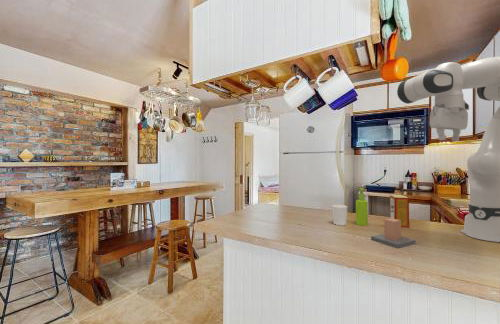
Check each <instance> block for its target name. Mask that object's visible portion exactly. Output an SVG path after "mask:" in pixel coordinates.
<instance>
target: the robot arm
mask: <svg viewBox="0 0 500 324" xmlns="http://www.w3.org/2000/svg"><path fill="white" fill-rule="evenodd" d="M469 89H476V94H477V96H478V98H479V99H481V100H483V101H489V102H490V101H491V102H492V101H494V102H495V101H497V102H500V56H491V57H484V58H481V59H477V60H475V61H472V62H470V63H467V64H465V65H463V66H462V65H461V64H460V63H459V62H454V61H449V62H443V63H440V64H438V65H437V66H436V67H434V68H433V69H431V70H427V71H425V72H423V73H420V74H418V75H415V76H414V77H412V78H409V79H405V80H403V81H402V82H400V83H399V84H398V86H397V91H396V94H397V97H398V99H399V100H400V101H401V102H403V103H404V104H412V103H414V102H415V103H416V102H417V101H419V100H420V101H421V100H423V99H427V98H430V97H434V105H433V106H432V109H431V111H430V112H429V113H430V114H429V127H430V128H431V129H436V134H437V136H438V141H446V139H447V135H445V130H452V136H451V141H452V142H456V141H457V142H458V141H459V140H460V134H461V131H463V130H466V129H467V127H468V123H469V121H468V120H469V112H468V111H469V110H470V105H469V104H468V103H467V102H466V101H465V99H464V93H463V90H469ZM466 167H467V176H468V177H467V178H468V184H469V204H468V207H467V209H468V214H466V215H465V216H464V226H463V227H464V228H461V229H460V232H461V233H463V234H465V235H466V236H468V237H470V238H473V239H477V240H481V241H486V242H487V241H488V242H496V243H497V242H498V243H500V106H499V107H498V108H497V110H496V111H495V112H494V114H493V116H492V118H491V120H490V122H489V124H488V126H487V127H486V129H485V131H484V133H483V134H482V139H481V141H480V144H479V147H478V150H477V151H476V152H474V153H472V154H471V155H470V156H469V157H468V158H467V160H466Z"/></svg>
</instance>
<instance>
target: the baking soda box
mask: <svg viewBox="0 0 500 324" xmlns="http://www.w3.org/2000/svg"><path fill="white" fill-rule="evenodd" d="M389 218H392V219H397V220H401V229H402V228H404V229H408V228H410V198H409V197H408V196H406V195H403V194H402V195H401V194H400V195H399V194H389Z"/></svg>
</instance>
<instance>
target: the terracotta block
mask: <svg viewBox="0 0 500 324" xmlns="http://www.w3.org/2000/svg"><path fill="white" fill-rule="evenodd" d="M383 221H384V224H383V226H384V229H383V230H384V233H383V234H385V238H388V239H391V240H394V241H395V240H399V239H401V236H402V227H401V220H397V219H392V218H390V217H389V218H385V219H384V220H383Z"/></svg>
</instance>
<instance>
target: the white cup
mask: <svg viewBox="0 0 500 324" xmlns="http://www.w3.org/2000/svg"><path fill="white" fill-rule="evenodd" d="M331 209H332V210H331V211H332V219H333V220H332V222H333V225H335V224H336V226H347V217H348V216H347V215H348V206H347V205H345V204H344V205H343V204H332V206H331Z"/></svg>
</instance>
